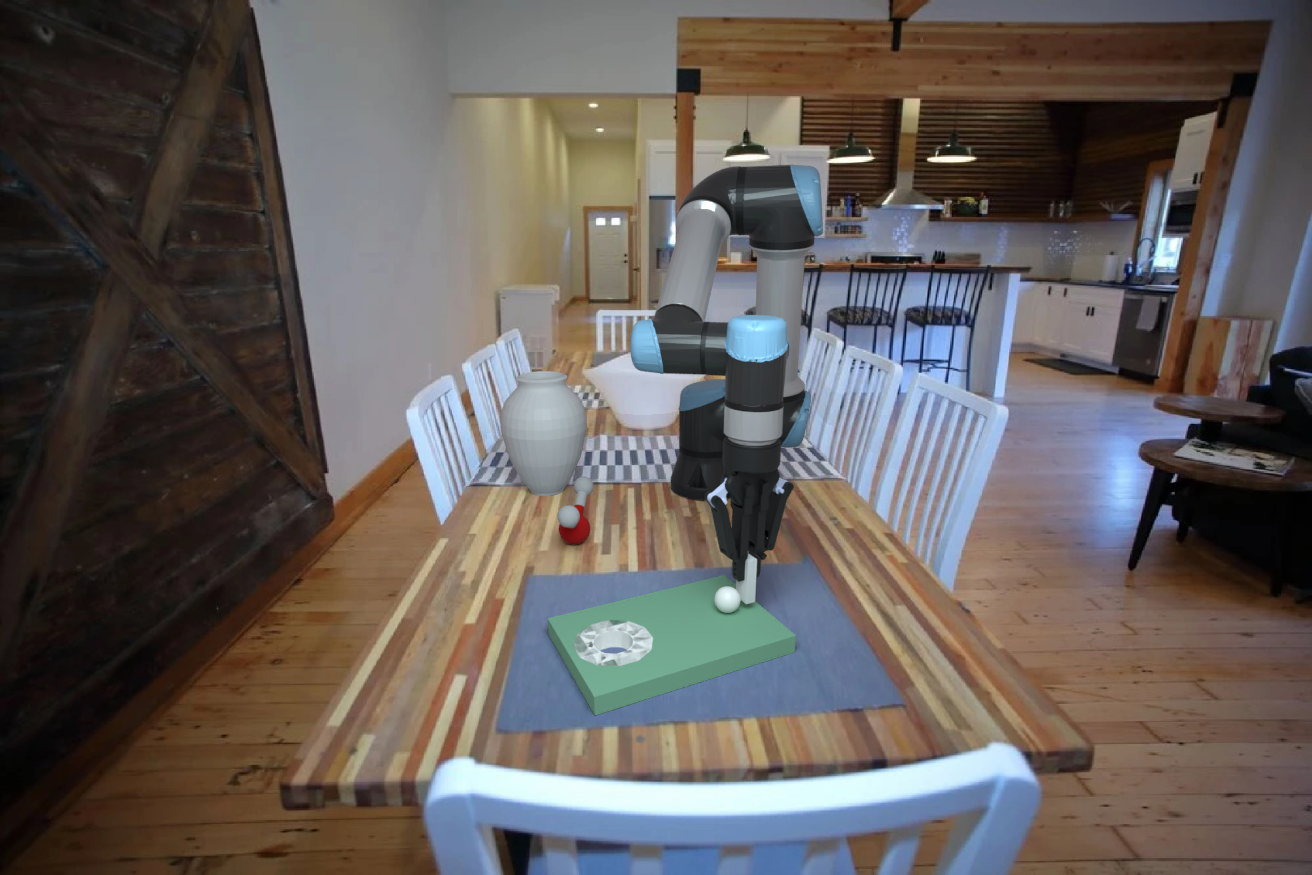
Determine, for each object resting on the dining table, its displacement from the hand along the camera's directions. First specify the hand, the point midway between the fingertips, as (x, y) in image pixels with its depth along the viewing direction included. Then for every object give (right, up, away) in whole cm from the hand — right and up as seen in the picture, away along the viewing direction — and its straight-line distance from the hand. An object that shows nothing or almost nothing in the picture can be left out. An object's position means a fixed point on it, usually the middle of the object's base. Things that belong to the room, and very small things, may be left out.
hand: (745, 598), depth 94 cm
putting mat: (-11, -5, -4) cm, 12 cm away
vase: (-36, +11, +50) cm, 63 cm away
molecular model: (-27, +4, +26) cm, 37 cm away
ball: (-3, 0, -1) cm, 3 cm away
